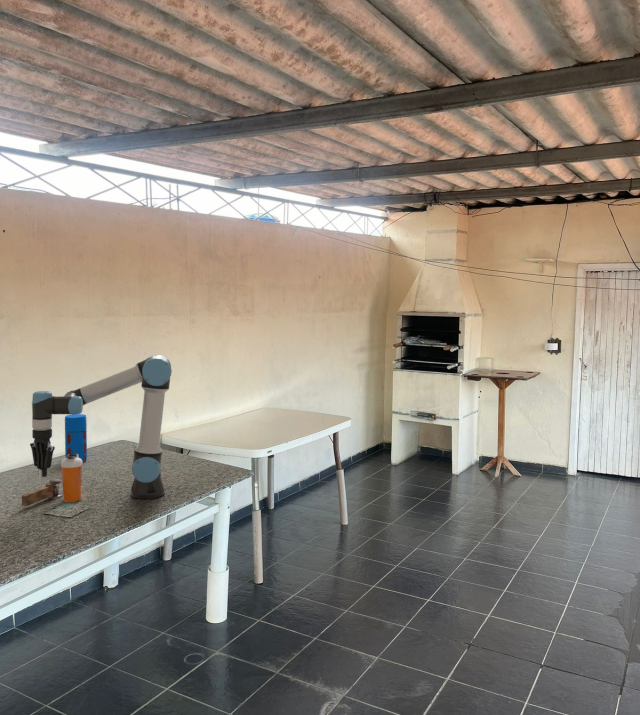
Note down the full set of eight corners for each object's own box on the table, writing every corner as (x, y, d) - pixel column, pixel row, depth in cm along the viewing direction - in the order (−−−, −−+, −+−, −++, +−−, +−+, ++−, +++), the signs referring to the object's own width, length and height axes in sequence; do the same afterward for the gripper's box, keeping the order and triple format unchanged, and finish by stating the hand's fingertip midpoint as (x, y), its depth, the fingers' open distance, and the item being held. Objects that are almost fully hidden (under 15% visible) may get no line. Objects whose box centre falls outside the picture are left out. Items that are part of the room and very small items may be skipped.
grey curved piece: (65, 495, 286) (65, 484, 286) (56, 499, 281) (55, 488, 280) (54, 493, 288) (54, 483, 288) (44, 497, 282) (44, 486, 282)
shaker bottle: (60, 503, 275) (59, 458, 273) (62, 497, 284) (61, 453, 282) (82, 502, 277) (81, 457, 275) (84, 496, 286) (83, 452, 284)
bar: (54, 491, 287) (54, 478, 287) (63, 492, 286) (63, 479, 285) (19, 505, 267) (19, 491, 267) (28, 506, 266) (28, 493, 265)
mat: (90, 508, 270) (90, 507, 270) (69, 518, 258) (69, 516, 258) (65, 504, 274) (65, 503, 274) (43, 514, 261) (43, 512, 261)
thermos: (61, 462, 340) (60, 416, 338) (74, 458, 351) (73, 413, 348) (78, 464, 337) (77, 418, 335) (91, 460, 348) (90, 414, 345)
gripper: (60, 429, 265) (60, 484, 267) (39, 425, 271) (40, 479, 273) (44, 432, 258) (44, 488, 260) (24, 427, 265) (24, 483, 267)
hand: (42, 483), depth 267 cm, fingers closed
